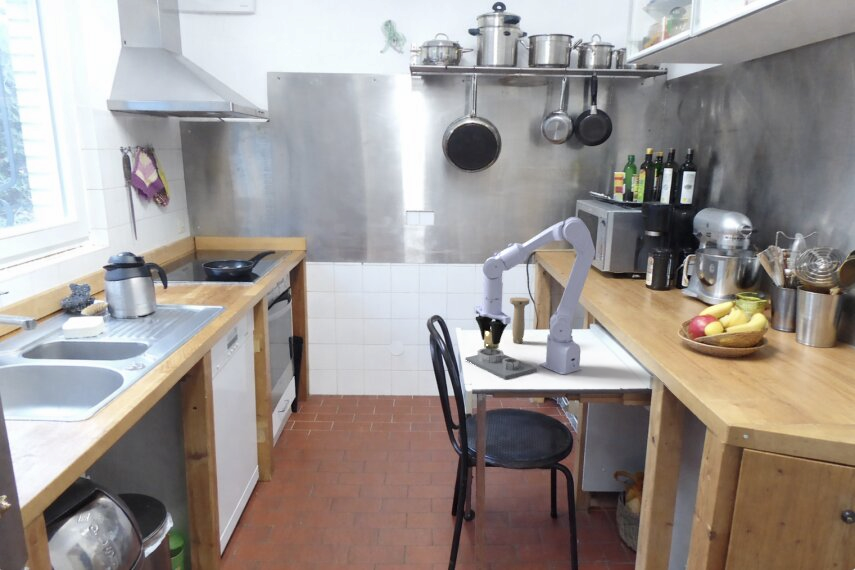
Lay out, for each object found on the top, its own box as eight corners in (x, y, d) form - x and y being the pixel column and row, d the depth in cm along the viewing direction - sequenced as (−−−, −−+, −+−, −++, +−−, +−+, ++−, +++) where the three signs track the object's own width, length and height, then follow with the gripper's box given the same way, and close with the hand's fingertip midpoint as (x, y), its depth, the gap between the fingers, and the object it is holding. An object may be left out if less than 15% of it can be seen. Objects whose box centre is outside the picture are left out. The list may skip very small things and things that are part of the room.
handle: (528, 344, 188) (530, 300, 185) (509, 344, 188) (511, 300, 185) (526, 340, 193) (528, 297, 190) (507, 340, 193) (509, 297, 190)
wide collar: (508, 359, 171) (508, 353, 170) (488, 364, 167) (488, 357, 166) (491, 352, 177) (492, 346, 177) (472, 357, 173) (472, 350, 173)
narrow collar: (521, 368, 164) (521, 361, 164) (509, 371, 162) (509, 364, 161) (510, 363, 168) (511, 356, 167) (499, 366, 165) (499, 359, 165)
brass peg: (501, 347, 171) (502, 331, 170) (490, 350, 168) (491, 333, 167) (491, 343, 174) (492, 328, 173) (480, 346, 172) (481, 330, 171)
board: (536, 371, 164) (536, 367, 164) (504, 379, 158) (504, 376, 158) (495, 353, 179) (495, 350, 179) (465, 360, 173) (465, 357, 172)
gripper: (466, 294, 172) (465, 337, 175) (498, 304, 160) (496, 350, 163) (484, 291, 175) (483, 333, 178) (516, 301, 164) (514, 346, 167)
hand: (490, 341), depth 171 cm, fingers closed on brass peg, 4 cm apart
